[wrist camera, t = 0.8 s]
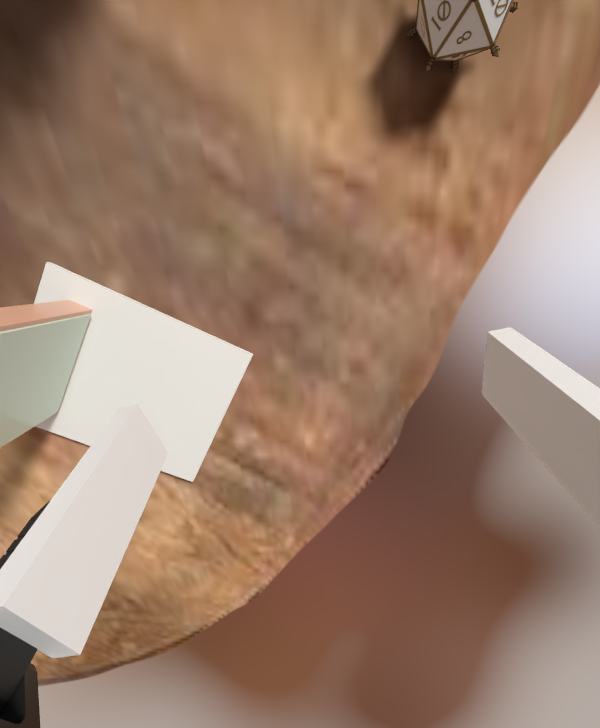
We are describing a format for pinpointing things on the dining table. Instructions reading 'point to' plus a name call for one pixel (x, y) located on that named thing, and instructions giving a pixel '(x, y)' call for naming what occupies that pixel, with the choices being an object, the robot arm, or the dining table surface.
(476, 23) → the game die
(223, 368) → the rubber mat
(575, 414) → the robot arm
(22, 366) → the terracotta tile
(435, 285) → the dining table surface
